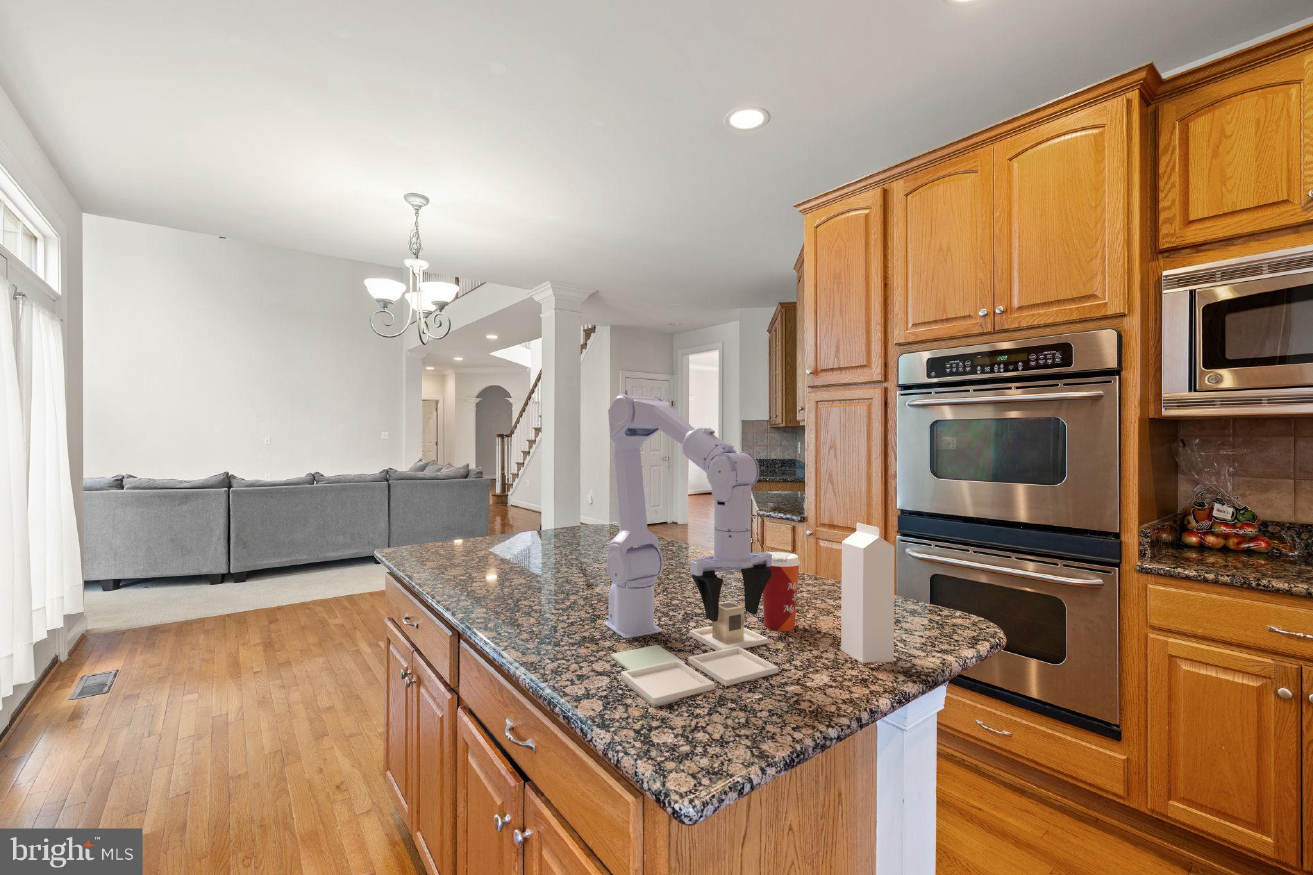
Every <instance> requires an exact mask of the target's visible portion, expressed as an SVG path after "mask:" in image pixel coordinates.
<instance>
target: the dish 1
mask: <svg viewBox="0 0 1313 875" xmlns="http://www.w3.org/2000/svg"><path fill="white" fill-rule="evenodd" d="M620 681H622V682H623V683H624V684H625V685H627V687H629V689H631V690H632V691H634V692H635V693H636V694H637V695H638V696H639V697H640V698H642V699H643V700H644V701H645V702H647V703H648V704H649V705H650V706H651V707H652V708H656V707H661V706H665V705H669V704H673V703H676V702H680V701H682V700H681V699H682V698H687V697H690V696H693V695H697V694H701V693H705V692H709V691H712V690H713V691H714V690H715V682H714V681H712V680H710V679H709V678H708V677H706V676H704V675H703V674H701V673H700V672H698V671H697V670H694V668H692V667H690V666H688V665H687V664H686V663H683V662H681V661H679V660H678V659H677V660H673V661H668V662H664V663H659V664H654V665H650V666H645V667H641V668H636V669H631V670H627V669H626V670H624V671H620Z"/></svg>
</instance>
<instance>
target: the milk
mask: <svg viewBox="0 0 1313 875" xmlns="http://www.w3.org/2000/svg"><path fill="white" fill-rule="evenodd" d="M855 527H856V531H855V532H853V533H852V534H850V535H849V536H848V537H846V538H845V539H843V540H842V541H841V608H840V612H841V613H840V614H841V616H840V617H841V618H840V619H841V621H840V622H841V624H840V625H841V628H840V630H841V634H840V635H841V636H840V640H841V642H840V651H842V652H844V653H845V654H847V655H849V656H850V657H852V658H853V659H855V660H857V661H858V662H860V663H861V664H867V663H870V664H871V665H877V664H885V663H893V662H894V658H895V655H894V652H895V651H894V650H895V646H894V645H895V638H894V637H895V546H894V545H893V544H891V543H889V542H888V541H886V539H883V538H882V537H881V536H880V533H881V532H880V531H881V530H880V527H878V526H875V525H868V524H865V523H861V522H856V526H855Z"/></svg>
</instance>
